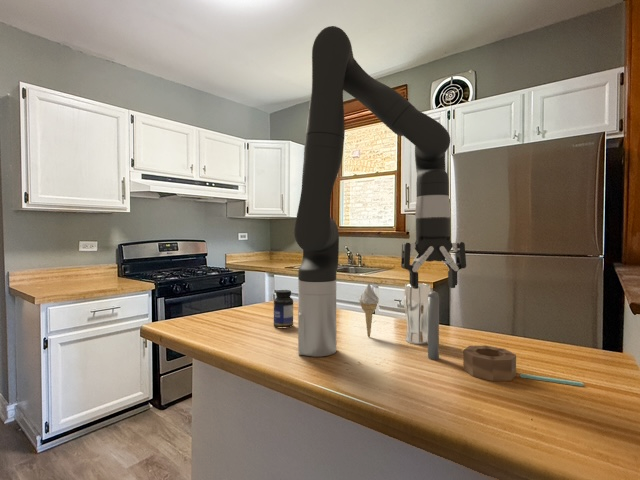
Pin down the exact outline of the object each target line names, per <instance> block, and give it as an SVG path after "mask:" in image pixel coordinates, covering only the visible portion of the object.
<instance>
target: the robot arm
mask: <svg viewBox="0 0 640 480" xmlns="http://www.w3.org/2000/svg"><path fill="white" fill-rule="evenodd" d="M344 92H346V93H347V94H349V95H350V96H352V97H353V98H354V99H355V100H357V101H358V102H360V104H362V106H364V108H366V109H367V110H369V112H371V113H372V114H373V115H374V116H375V117H376V118H377V119H378V120H380V122H382V123H383V124H384V125H385V126H386V127H387V128H388V129H389V130H390V131H391V132H392V133H394V134H396V135H397V136H399V137H404V138H405V139H407V140H408V141H409V142H410V143H411V144H413V145H414V158H415V160H414V162H415V169H416V170H415V171H416V185H415V186H416V187H415V188H416V190H415V191H416V200H415V201H416V202H415V211H414V216H415V242H414V243H411V242H403V243H402V244H401V256H400V257H401V258H400V259H401V260H400V261H401V263H400V267H401V268H402V269H403V270H407V271H408V272H409V273H408V274H409V283H410V285H411V286H412V288H414V289H418V283H419V272H418V270H419V269H420V268H421V267H422V266H423V264H424V263H425V262H428V263H430V262H431V263H432V262H434V261H435V262H442V263H443V264H444V265H445V266H446V267H447V268H448V271H447V286H448V288H451V289H456V286H457V285H458V282H459V281H458V271H460V270H462V269H466V267H467V257H466V256H467V254H466V244H465V242H463V241H455V242H452V241H451V235H452V233H451V229H452V228H451V203H450V191H449V190H450V189H449V187H450V184H449V183H450V181H449V175H448V173H447V171H446V152H447V151H448V150H449V148H450V145H451V137H450V133H449V131H448V130H447V129H446V127H445V126H443V125H442V124H441V122H439V121H437V120H436V119H434V118H433V117H431V116H429V115H428V114H426V113H424V112H422V111H420V110H418V109H417V108H416V106H414V105H413V104H412V103H411V102H410V101H409V100H408V99H406V97H404V96H403V95H402V94H400V92H398V91H396V90H395V89H394V88H391V86H388V85H386V84H385V83H382V82H381V81H379V80H377V79H375V78H374V77H372V76H371V75H369V74H368V73H367V72H366V71H365V70H364V69H363V68H362V66H361V65H360V64H359V63H358V62H357V59H355V57H354V53H353V47H352V41H351V40H350V38H349V35H347V33H346V32H345V30H343V29H342V28H340V27H338V26H336V25H331V26H326V27H324V28H323V29H321V30H320V31H319V32H318V33H317V35H316V36H315V38H314V40H313V43H312V46H311V93H310V97H309V98H310V99H309V105H308V112H307V113H308V114H307V121H306V122H307V123H306V129H305V138H304V148H303V162H302V163H303V165H302V174H301V175H302V176H301V178H302V179H301V191H300V197H299V203H298V209H297V213H296V217H295V218H296V219H295V223H294V231H293V233H294V239H295V242H296V244H297V246H298V247H299V248H300V249H301V250H302V260H301V261H302V262H301V264H300V266H299V269H298V272H297V274H298V277H297V278H298V283H297V284H298V286H297V287H298V288H297V289H298V292H297V293H298V295H297V296H298V301H297V302H298V303H297V304H298V307H297V308H298V311H297V314H298V315H297V319H298V320H297V322H298V323H297V324H298V325H297V326H298V328H297V332H298V333H297V334H298V335H297V336H298V337H297V339H298V345H297V346H298V347H297V348H298V356H306V357H315V358H316V357H319V358H320V357H327V356H328V357H329V356H331V355H334V354H336V352H337V346H338V345H337V342H338V341H337V272H338V268H339V256H340V255H339V253H340V251H339V249H340V244H339V243H340V234H339V228H338V225H337V223H336V221H335V220H334V219H333V218H332V217H331V207H332V205H331V204H332V194H333V189H334V186H335V182H336V180H337V177H338V175H339V172H340V168H341V165H342V161H343V154H344V145H345V129H346V128H345V125H346V124H345V110H344V108H345V107H344ZM414 250H415V251H416V252H417V254H416V256H415V257H414V258H413V261H412V262H411V253H413V251H414ZM451 250H452V251H453V252H454V253H455V254H454V255H455V261H454V259H453V257H452V256H451V255H450V251H451Z"/></svg>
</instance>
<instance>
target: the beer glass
mask: <svg viewBox="0 0 640 480" xmlns="http://www.w3.org/2000/svg"><path fill="white" fill-rule="evenodd" d="M431 288H432V287H431V284H428V283H423V282H422V283H421V282H420V283H419V282H418V289H414V288H412V286H411V285H410V282H408V283H405V284H404V290H403V291H404V293H403V303H404V304H403V305H404V306H403V307H404V311H405V319H406V324H407V325H406V327H407V328H406V335H405V341H406V342H407V343H408V344H413V345H421V346H422V345H428V294H429V293H430V292H432V289H431Z"/></svg>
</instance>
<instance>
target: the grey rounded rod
mask: <svg viewBox="0 0 640 480" xmlns="http://www.w3.org/2000/svg"><path fill="white" fill-rule="evenodd" d="M439 312H440V295H439V293H438V292H436V291H435V290H434V291H432V290H431V292H430V293H429V294H428V344H427V359H429V360H432V361H436V360H437V361H439V359H440V313H439Z"/></svg>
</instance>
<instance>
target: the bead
mask: <svg viewBox="0 0 640 480" xmlns="http://www.w3.org/2000/svg"><path fill="white" fill-rule="evenodd" d="M462 351H463V353H462V354H463V355H462V356H463V357H462V358H463V367H462V368H463V370H464V371H465V372H467V373H468V374H469V376H472V377H474V378H478V379H482V380H486V381H491V382H510V381H511V382H512V381H513V379H515V377H516V376H517V354H516V353H513V352H512V351H510V350H507V349H505V348H502V347H497V346H491V345H486V344H485V345H469V346H468V345H467V347H465V348H464V349H463V350H462Z"/></svg>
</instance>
